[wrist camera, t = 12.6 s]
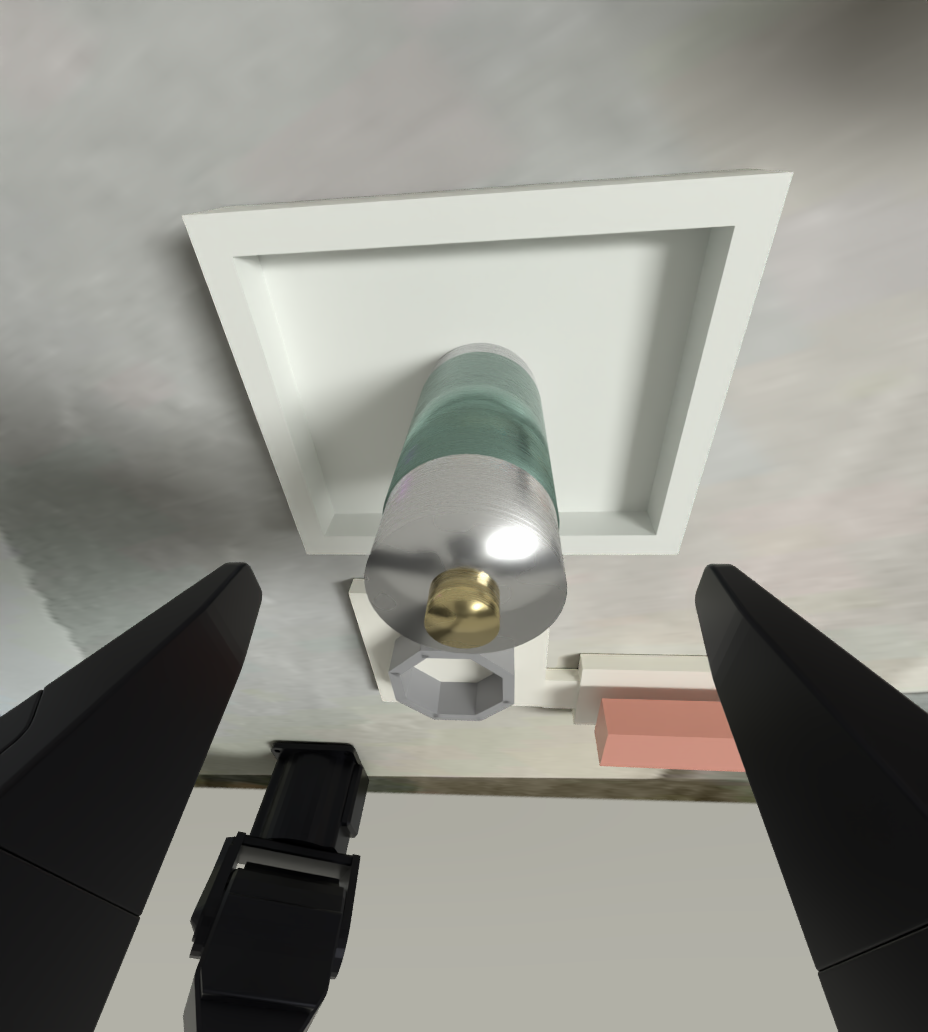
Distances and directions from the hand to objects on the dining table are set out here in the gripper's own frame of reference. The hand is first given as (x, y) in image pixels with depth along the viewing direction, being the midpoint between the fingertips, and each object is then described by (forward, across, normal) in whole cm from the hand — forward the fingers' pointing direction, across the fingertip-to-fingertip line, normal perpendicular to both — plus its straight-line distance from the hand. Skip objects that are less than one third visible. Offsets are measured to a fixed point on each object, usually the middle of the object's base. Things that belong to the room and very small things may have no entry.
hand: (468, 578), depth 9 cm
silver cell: (+9, 0, 0) cm, 9 cm away
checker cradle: (+10, -6, +16) cm, 20 cm away
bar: (+8, -12, +19) cm, 24 cm away
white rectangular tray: (+10, 0, 0) cm, 10 cm away
